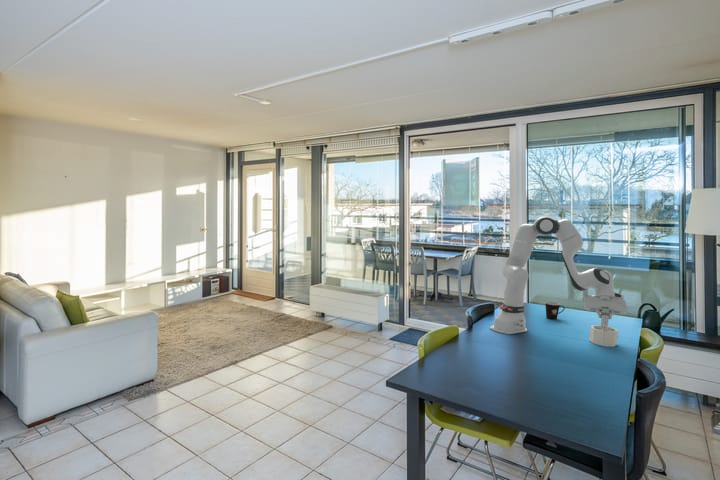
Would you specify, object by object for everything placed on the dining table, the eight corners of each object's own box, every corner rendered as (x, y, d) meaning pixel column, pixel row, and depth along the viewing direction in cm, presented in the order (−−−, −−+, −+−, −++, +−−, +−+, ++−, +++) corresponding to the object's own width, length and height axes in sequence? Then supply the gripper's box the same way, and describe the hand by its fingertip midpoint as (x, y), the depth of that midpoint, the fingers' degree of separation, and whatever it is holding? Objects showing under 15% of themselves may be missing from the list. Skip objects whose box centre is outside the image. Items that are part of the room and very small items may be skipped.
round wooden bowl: (610, 348, 206) (611, 333, 206) (586, 341, 216) (587, 327, 215) (620, 343, 214) (621, 329, 213) (596, 337, 223) (597, 323, 223)
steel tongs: (598, 337, 214) (599, 308, 212) (597, 333, 219) (599, 305, 217) (610, 338, 211) (612, 309, 210) (609, 335, 216) (611, 307, 215)
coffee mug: (544, 318, 261) (544, 304, 260) (544, 315, 268) (545, 301, 267) (563, 321, 255) (564, 306, 254) (564, 318, 263) (564, 303, 262)
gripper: (583, 291, 224) (583, 312, 216) (627, 295, 214) (628, 317, 206) (583, 297, 228) (582, 318, 220) (625, 302, 218) (626, 323, 211)
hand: (604, 318), depth 213 cm, fingers closed on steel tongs, 3 cm apart
